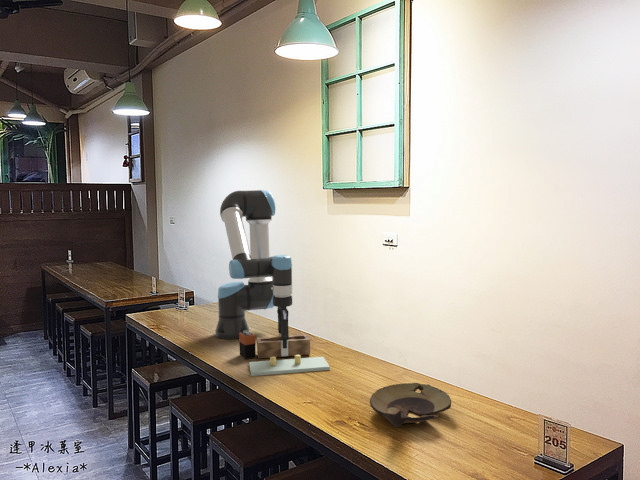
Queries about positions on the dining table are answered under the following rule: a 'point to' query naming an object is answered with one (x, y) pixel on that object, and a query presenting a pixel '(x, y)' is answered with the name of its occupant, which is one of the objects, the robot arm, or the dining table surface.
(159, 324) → the dining table surface
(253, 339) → the battery
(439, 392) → the broken dish
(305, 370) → the board
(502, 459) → the dining table surface
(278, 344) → the divided compartment tray
